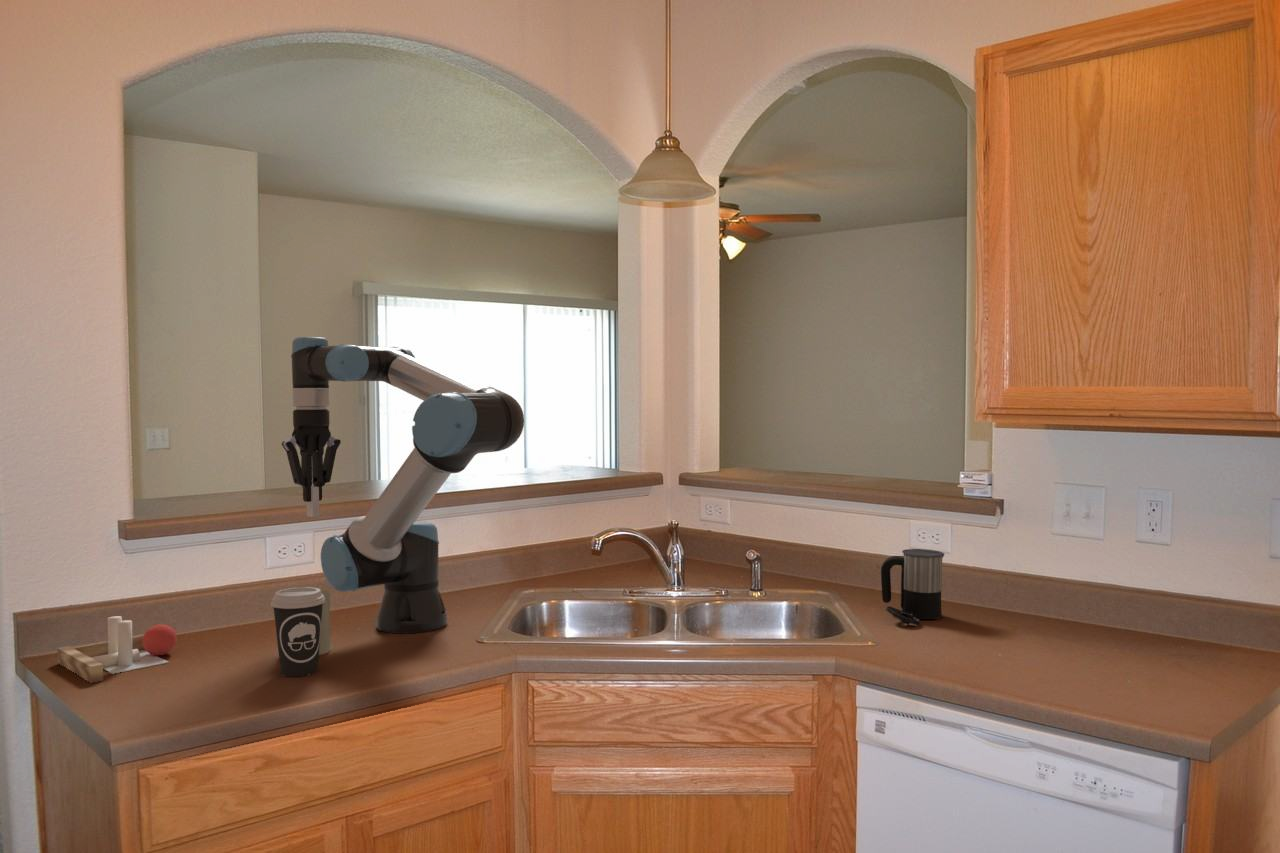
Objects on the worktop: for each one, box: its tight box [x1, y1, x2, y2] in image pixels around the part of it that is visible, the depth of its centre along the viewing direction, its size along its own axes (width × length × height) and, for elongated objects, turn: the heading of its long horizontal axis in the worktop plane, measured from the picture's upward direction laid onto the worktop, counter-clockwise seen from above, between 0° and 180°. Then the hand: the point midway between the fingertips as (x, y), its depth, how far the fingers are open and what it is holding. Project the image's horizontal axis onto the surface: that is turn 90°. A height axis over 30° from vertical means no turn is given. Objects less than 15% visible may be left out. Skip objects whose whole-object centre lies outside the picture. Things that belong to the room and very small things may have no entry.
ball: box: [143, 623, 178, 657], centre depth 190 cm, size 6×6×6 cm
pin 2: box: [118, 619, 133, 667], centre depth 182 cm, size 2×2×8 cm
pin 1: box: [107, 615, 123, 654], centre depth 186 cm, size 2×2×8 cm
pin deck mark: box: [103, 650, 169, 675], centre depth 185 cm, size 12×10×1 cm
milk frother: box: [880, 548, 945, 626], centre depth 218 cm, size 14×16×15 cm
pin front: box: [90, 649, 140, 667], centre depth 183 cm, size 2×2×8 cm
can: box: [319, 589, 332, 656], centre depth 193 cm, size 9×9×12 cm
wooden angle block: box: [57, 633, 146, 684], centre depth 185 cm, size 18×18×3 cm
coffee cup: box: [270, 586, 325, 677], centre depth 179 cm, size 10×10×15 cm
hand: (312, 516), depth 212 cm, fingers closed
